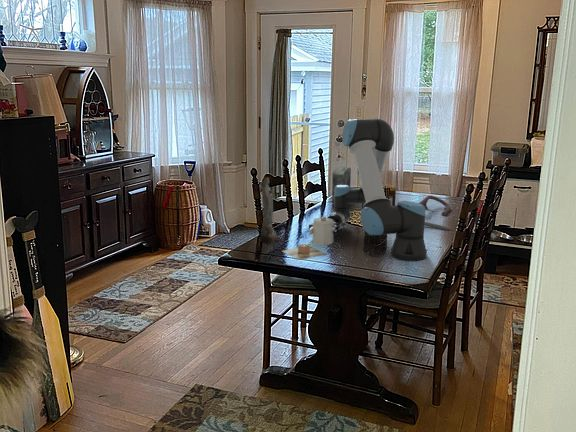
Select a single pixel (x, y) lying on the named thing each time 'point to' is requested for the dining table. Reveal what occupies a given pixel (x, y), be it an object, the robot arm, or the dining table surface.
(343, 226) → the robot arm
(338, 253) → the dining table surface
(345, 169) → the concrete block
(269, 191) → the statue
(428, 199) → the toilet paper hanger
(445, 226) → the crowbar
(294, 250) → the board
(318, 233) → the white lidded jar
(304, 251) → the peach rounded dome
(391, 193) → the supplement box
